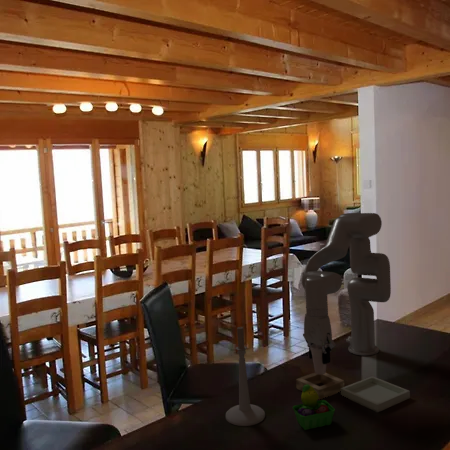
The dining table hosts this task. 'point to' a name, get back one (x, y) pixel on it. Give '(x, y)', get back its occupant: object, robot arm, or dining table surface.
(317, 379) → the holder
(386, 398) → the tray
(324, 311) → the robot arm
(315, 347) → the smoothie
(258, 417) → the candlestick
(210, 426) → the dining table surface
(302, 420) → the fruit basket
